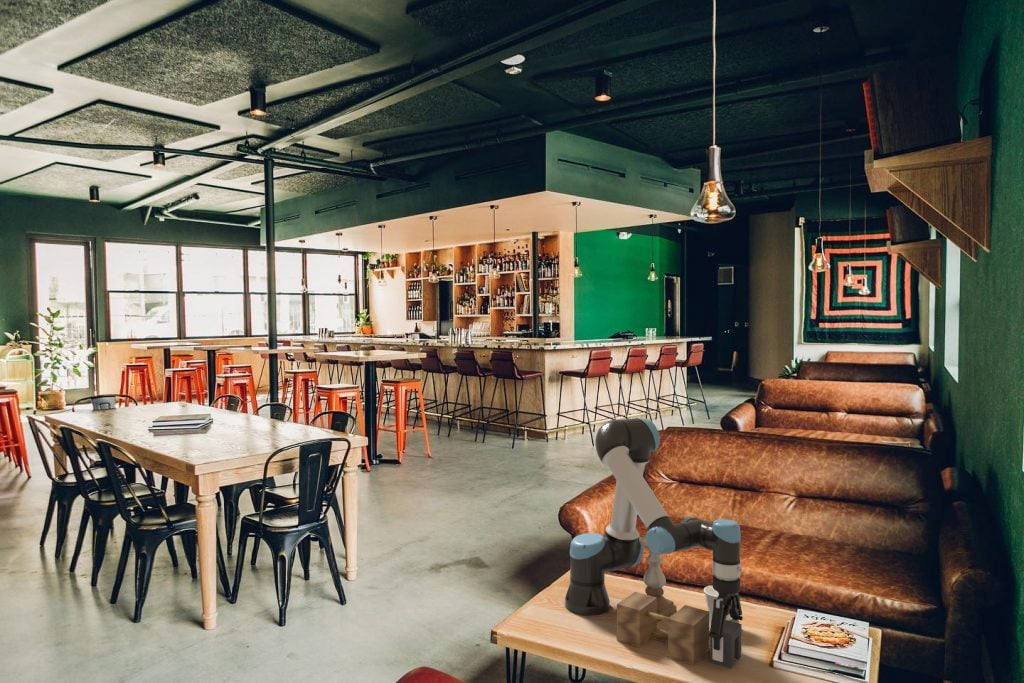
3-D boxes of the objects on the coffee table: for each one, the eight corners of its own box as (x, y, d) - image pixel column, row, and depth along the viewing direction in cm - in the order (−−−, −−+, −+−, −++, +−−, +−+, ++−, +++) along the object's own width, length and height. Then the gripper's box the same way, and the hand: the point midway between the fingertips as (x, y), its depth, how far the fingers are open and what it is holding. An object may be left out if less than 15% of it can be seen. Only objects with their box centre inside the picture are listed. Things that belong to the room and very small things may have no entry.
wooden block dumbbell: (616, 640, 194) (617, 603, 194) (635, 626, 204) (635, 591, 203) (693, 665, 179) (693, 625, 179) (709, 648, 189) (709, 611, 189)
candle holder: (677, 611, 215) (677, 540, 215) (660, 621, 207) (660, 547, 207) (648, 602, 222) (649, 533, 222) (631, 611, 214) (631, 540, 214)
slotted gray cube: (710, 661, 181) (710, 628, 181) (720, 650, 188) (720, 618, 188) (731, 668, 178) (731, 634, 178) (741, 656, 184) (741, 624, 184)
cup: (738, 634, 198) (738, 598, 198) (704, 631, 200) (705, 596, 200) (734, 620, 208) (734, 586, 208) (702, 617, 210) (702, 584, 210)
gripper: (724, 592, 171) (724, 672, 171) (753, 566, 190) (753, 638, 190) (696, 586, 175) (696, 664, 175) (728, 561, 195) (728, 631, 195)
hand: (726, 651), depth 183 cm, fingers open, 13 cm apart
